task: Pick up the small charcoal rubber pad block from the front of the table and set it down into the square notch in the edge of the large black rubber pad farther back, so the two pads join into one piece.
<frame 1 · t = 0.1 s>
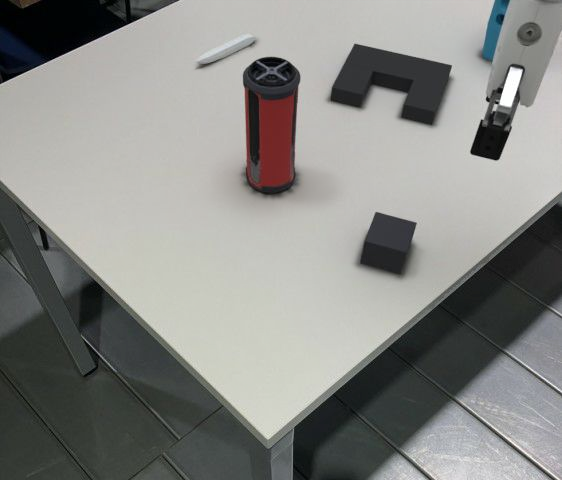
hand: (491, 128, 69), 23 cm above the table, tool pointing down, fingers open, 9 cm apart
pen: (226, 55, 114), on the table
block: (503, 52, 117), on the table
base pad: (390, 89, 110), on the table
speaker: (270, 178, 97), on the table
plug pad: (385, 253, 89), on the table
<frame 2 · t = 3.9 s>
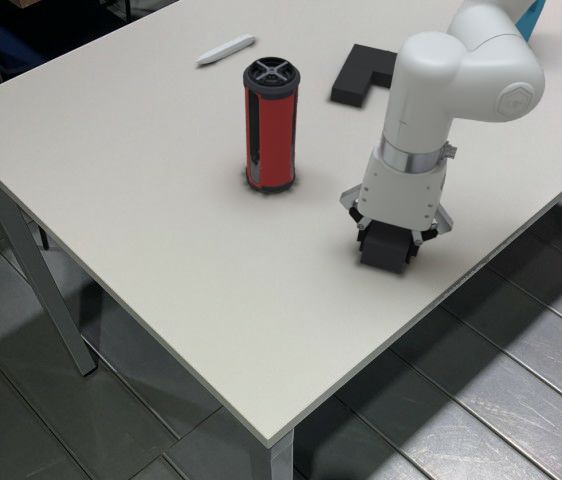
hand: (386, 250, 89), 1 cm above the table, tool pointing down, fingers closed on plug pad, 6 cm apart
plug pad: (385, 253, 89), on the table, touching gripper
everything else where it was.
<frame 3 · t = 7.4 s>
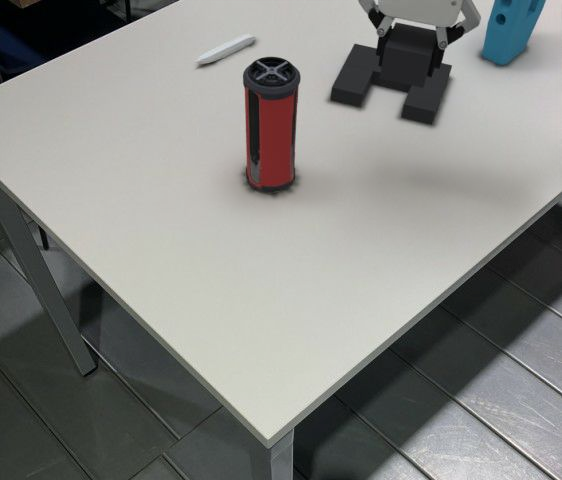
hand: (407, 65, 84), 18 cm above the table, tool pointing down, fingers closed on plug pad, 6 cm apart
plug pad: (406, 70, 84), point 17 cm above the table, touching gripper
everything else where it was.
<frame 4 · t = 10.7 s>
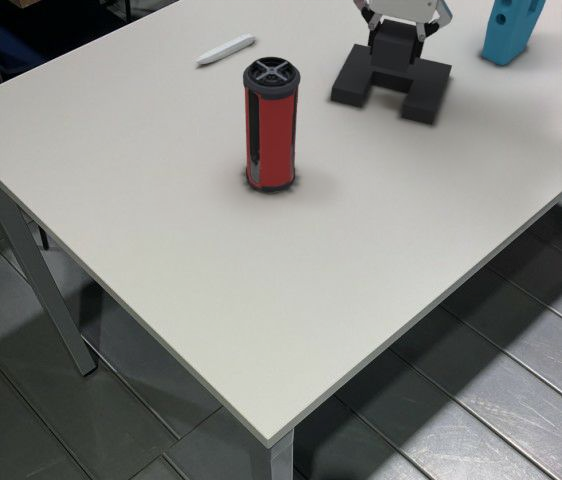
hand: (393, 54, 101), 8 cm above the table, tool pointing down, fingers closed on plug pad, 6 cm apart
plug pad: (392, 59, 102), point 7 cm above the table, touching gripper
everything else where it was.
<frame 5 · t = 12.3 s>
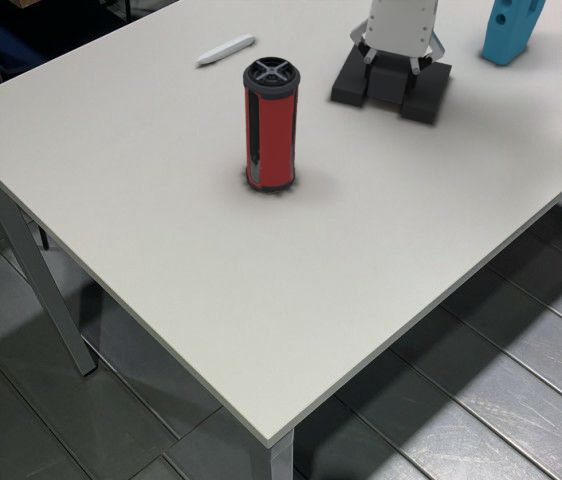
hand: (389, 85, 105), 3 cm above the table, tool pointing down, fingers closed on plug pad, 6 cm apart
plug pad: (388, 90, 106), point 2 cm above the table, touching gripper
everything else where it was.
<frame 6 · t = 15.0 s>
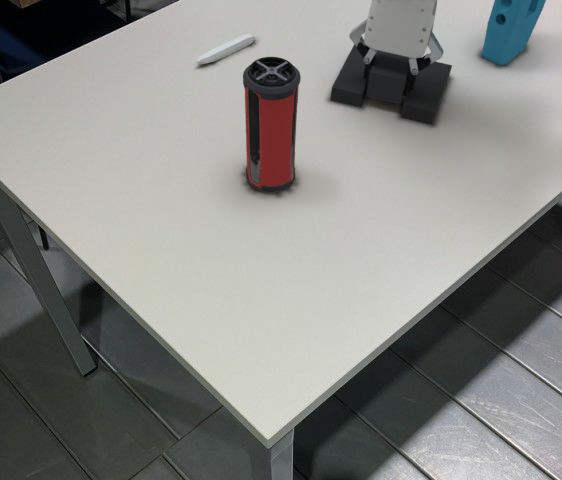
hand: (388, 86, 106), 3 cm above the table, tool pointing down, fingers closed on plug pad, 5 cm apart
plug pad: (387, 90, 106), point 2 cm above the table, touching gripper
everything else where it was.
when the fingers open (3 cm above the table, at t = 17.4 s): plug pad drops 2 cm, on the table.
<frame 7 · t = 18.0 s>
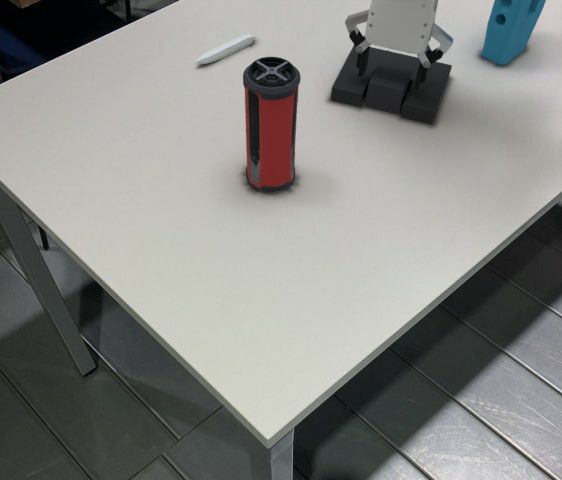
hand: (389, 78, 104), 4 cm above the table, tool pointing down, fingers open, 9 cm apart
plug pad: (386, 100, 108), on the table
everything else where it was.
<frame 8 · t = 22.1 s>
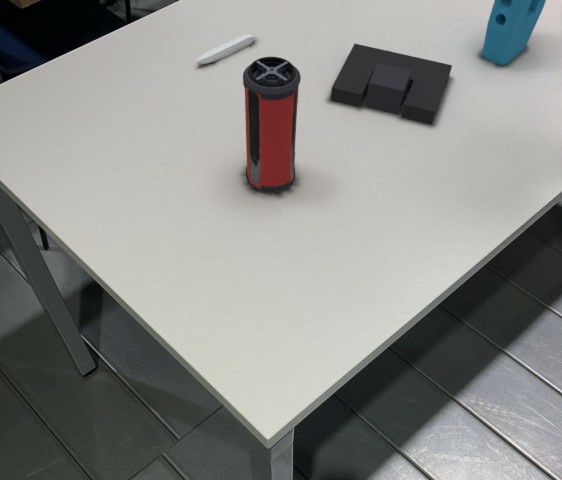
nothing on the table moved.
at the end: plug pad 0.1 cm from the target spot on the base pad, point 0.0 cm above the base pad's base; plug pad tilted 0°; the gripper is holding nothing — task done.
